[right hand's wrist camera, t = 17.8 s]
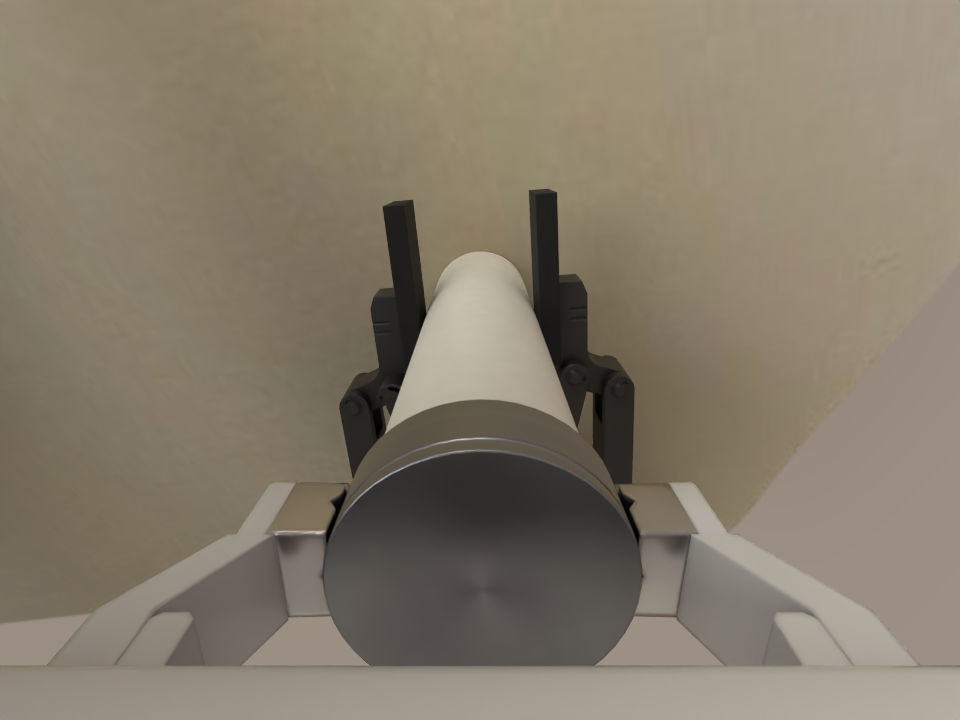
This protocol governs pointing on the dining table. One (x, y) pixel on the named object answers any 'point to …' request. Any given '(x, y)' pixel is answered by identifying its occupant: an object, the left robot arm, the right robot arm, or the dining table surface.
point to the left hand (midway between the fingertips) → (470, 198)
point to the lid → (482, 544)
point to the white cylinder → (480, 344)
